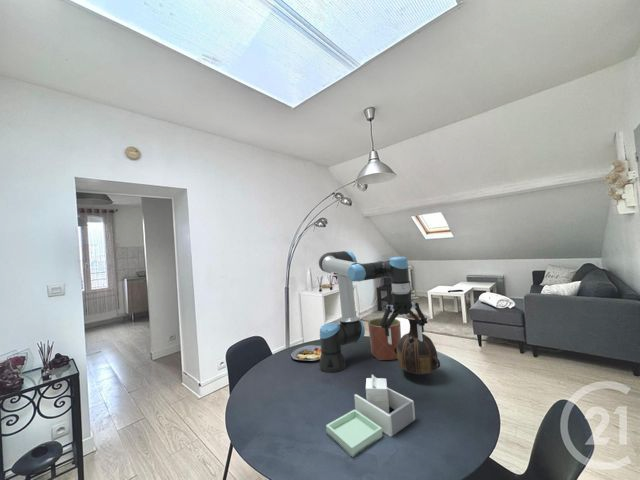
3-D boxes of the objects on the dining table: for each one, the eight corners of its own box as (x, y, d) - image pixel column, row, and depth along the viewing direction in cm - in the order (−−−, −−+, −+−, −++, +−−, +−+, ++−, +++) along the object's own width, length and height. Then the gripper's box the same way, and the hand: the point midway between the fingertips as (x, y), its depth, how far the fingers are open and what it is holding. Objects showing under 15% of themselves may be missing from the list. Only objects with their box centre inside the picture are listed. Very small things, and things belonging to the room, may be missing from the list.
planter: (407, 360, 148) (404, 325, 148) (373, 363, 148) (371, 327, 149) (397, 347, 167) (395, 316, 167) (368, 349, 167) (365, 318, 168)
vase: (388, 370, 138) (384, 313, 139) (417, 361, 145) (412, 308, 146) (420, 391, 117) (414, 324, 118) (451, 379, 124) (446, 316, 125)
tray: (326, 433, 94) (326, 425, 95) (355, 416, 103) (354, 409, 103) (352, 457, 83) (351, 448, 83) (382, 436, 91) (381, 427, 91)
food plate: (335, 348, 173) (334, 343, 173) (324, 364, 150) (323, 358, 151) (300, 347, 181) (300, 342, 181) (285, 363, 159) (285, 357, 159)
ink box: (390, 420, 99) (387, 384, 100) (367, 418, 101) (365, 383, 101) (388, 406, 108) (386, 373, 108) (368, 405, 109) (365, 373, 110)
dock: (355, 412, 105) (354, 394, 105) (379, 398, 113) (378, 382, 113) (390, 437, 90) (389, 416, 91) (415, 419, 98) (413, 400, 99)
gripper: (375, 296, 108) (379, 347, 108) (433, 291, 110) (437, 341, 109) (370, 293, 116) (374, 341, 115) (424, 288, 117) (428, 336, 117)
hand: (405, 341), depth 112 cm, fingers open, 13 cm apart
